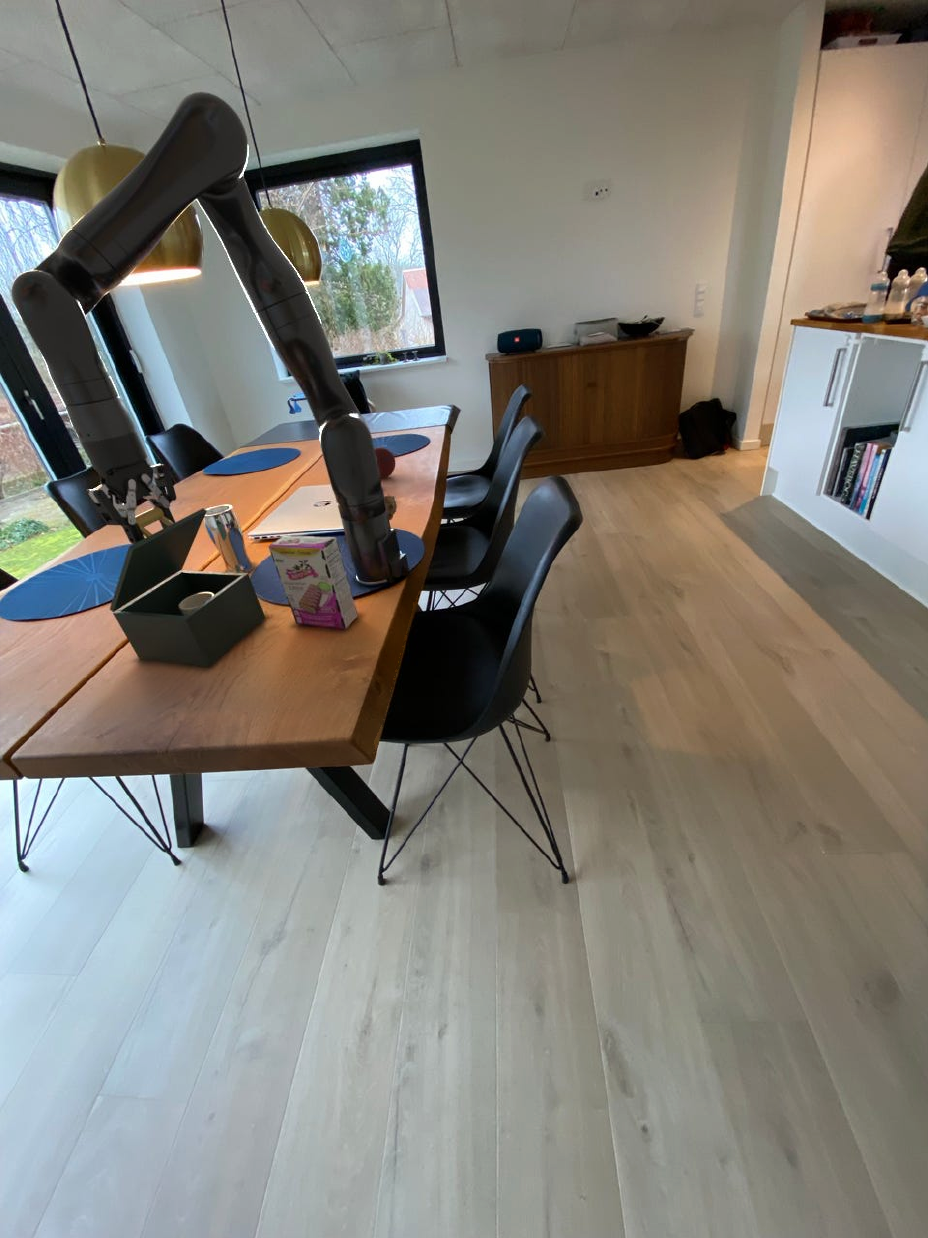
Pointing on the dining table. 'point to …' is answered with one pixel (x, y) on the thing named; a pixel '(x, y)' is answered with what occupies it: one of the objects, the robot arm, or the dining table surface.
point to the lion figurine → (390, 506)
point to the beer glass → (228, 538)
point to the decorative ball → (385, 461)
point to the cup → (194, 602)
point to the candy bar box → (314, 580)
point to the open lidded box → (191, 618)
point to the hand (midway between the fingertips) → (156, 536)
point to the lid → (155, 554)
